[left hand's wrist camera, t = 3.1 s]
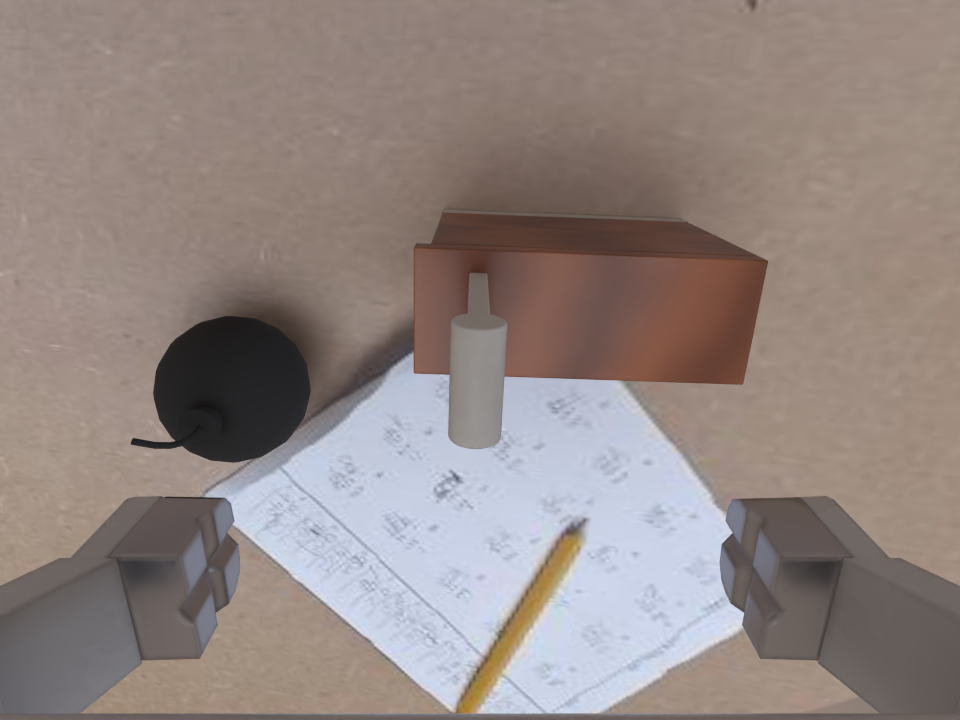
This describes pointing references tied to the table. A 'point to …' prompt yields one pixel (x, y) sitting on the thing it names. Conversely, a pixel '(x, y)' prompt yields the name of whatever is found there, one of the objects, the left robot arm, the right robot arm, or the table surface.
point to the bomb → (230, 390)
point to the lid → (576, 321)
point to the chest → (579, 233)
